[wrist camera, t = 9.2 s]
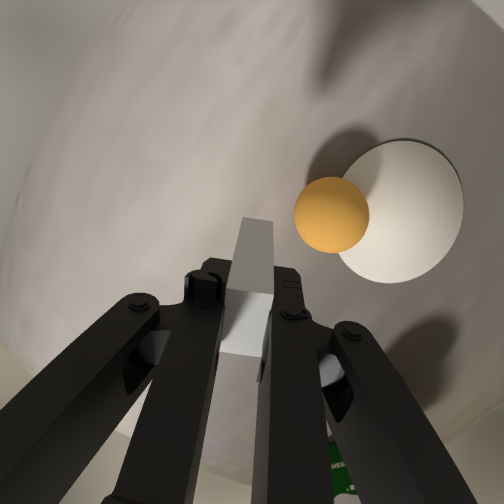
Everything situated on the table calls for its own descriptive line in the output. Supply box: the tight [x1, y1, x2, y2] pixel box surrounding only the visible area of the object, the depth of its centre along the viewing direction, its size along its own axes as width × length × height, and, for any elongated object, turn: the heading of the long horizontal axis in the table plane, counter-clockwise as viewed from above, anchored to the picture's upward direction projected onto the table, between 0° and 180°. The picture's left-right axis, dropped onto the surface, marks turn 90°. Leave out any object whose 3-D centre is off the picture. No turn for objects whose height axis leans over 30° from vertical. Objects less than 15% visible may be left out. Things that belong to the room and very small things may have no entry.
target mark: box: [338, 141, 464, 283], centre depth 25 cm, size 13×13×1 cm
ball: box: [294, 177, 370, 253], centre depth 23 cm, size 6×6×6 cm
